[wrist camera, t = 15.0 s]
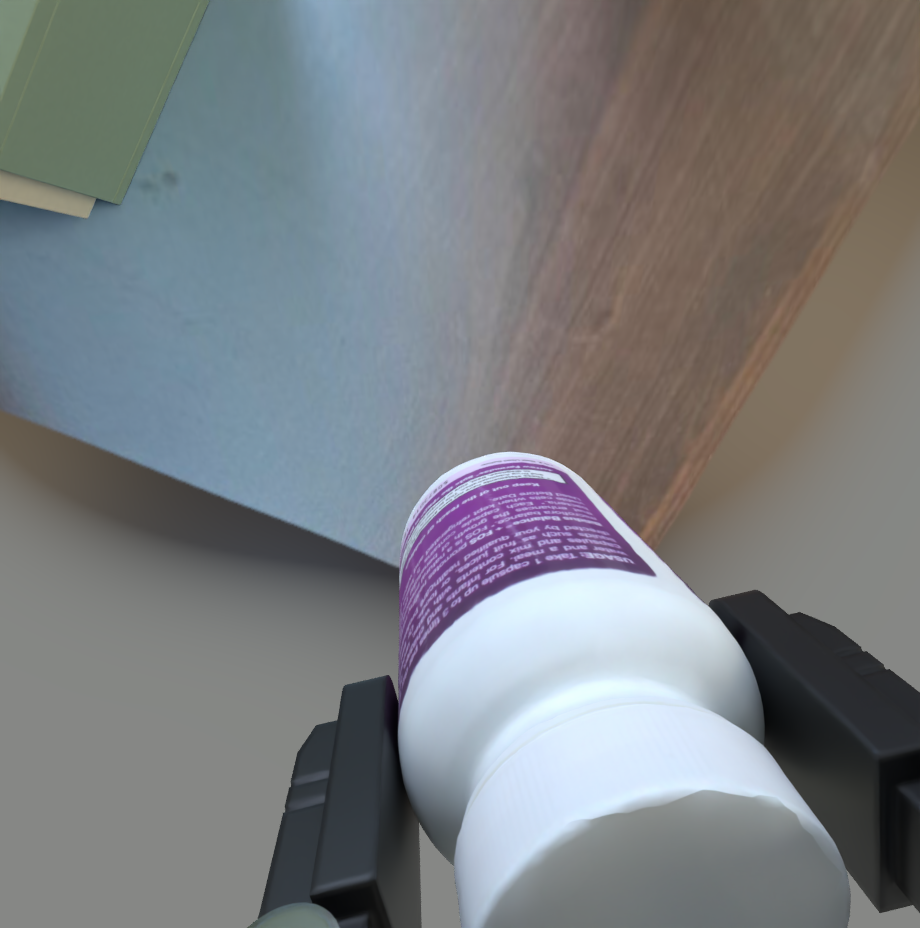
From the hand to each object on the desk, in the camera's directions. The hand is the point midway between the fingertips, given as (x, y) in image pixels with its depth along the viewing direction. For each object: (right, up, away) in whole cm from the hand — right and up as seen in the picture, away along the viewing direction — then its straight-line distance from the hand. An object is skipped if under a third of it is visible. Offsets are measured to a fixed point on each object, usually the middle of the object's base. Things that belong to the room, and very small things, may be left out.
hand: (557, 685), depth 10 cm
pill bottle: (0, +2, +5) cm, 6 cm away
